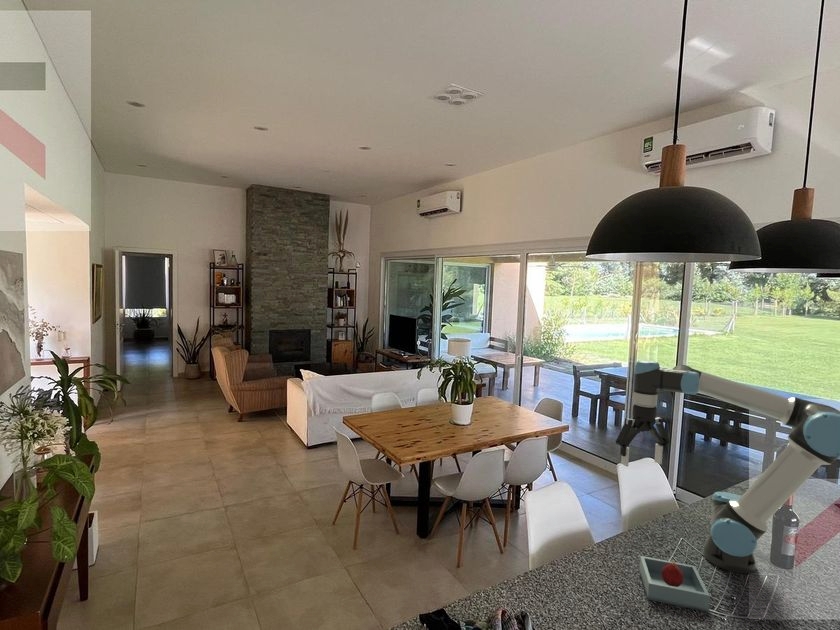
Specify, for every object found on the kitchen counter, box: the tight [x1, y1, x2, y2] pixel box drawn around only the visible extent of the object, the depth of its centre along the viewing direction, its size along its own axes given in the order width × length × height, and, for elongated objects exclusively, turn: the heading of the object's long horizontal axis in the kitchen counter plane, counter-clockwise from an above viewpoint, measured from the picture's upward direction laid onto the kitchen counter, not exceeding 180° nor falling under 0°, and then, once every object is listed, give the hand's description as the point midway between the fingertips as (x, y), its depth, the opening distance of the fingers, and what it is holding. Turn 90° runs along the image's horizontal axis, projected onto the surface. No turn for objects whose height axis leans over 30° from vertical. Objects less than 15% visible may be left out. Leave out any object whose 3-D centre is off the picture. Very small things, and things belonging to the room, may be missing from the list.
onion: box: [662, 561, 683, 587], centre depth 140 cm, size 6×6×8 cm
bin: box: [638, 555, 711, 613], centre depth 140 cm, size 16×15×5 cm
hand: (641, 464), depth 159 cm, fingers open, 13 cm apart
